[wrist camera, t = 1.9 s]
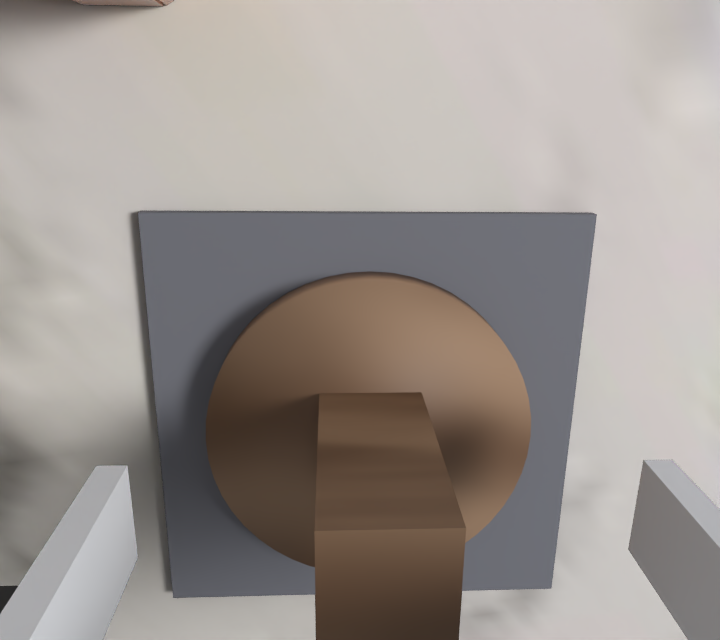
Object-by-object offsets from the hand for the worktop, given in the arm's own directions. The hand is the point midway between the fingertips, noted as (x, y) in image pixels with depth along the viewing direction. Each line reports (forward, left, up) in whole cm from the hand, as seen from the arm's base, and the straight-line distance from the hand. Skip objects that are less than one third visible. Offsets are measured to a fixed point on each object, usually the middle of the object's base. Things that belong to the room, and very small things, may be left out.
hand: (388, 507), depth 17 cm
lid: (0, 0, -6) cm, 6 cm away
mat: (0, 0, -6) cm, 6 cm away
